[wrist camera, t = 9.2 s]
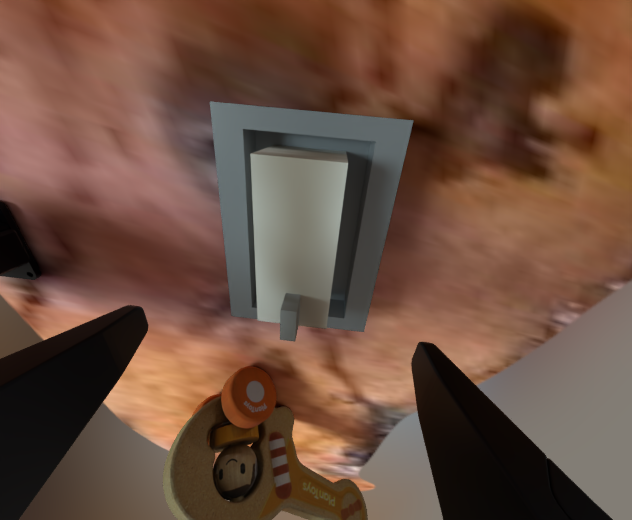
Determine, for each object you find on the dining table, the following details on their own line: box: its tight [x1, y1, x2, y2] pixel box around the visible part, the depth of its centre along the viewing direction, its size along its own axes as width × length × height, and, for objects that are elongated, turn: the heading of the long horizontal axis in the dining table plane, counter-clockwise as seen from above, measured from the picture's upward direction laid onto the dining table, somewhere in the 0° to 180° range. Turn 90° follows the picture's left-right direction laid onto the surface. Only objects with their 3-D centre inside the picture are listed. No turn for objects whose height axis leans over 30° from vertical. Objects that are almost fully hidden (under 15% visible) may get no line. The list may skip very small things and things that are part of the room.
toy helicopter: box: [163, 366, 368, 520], centre depth 22 cm, size 8×21×14 cm, turn 49°
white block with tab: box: [250, 145, 348, 341], centre depth 14 cm, size 4×9×6 cm, turn 176°
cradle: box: [210, 102, 413, 332], centre depth 16 cm, size 9×13×3 cm
